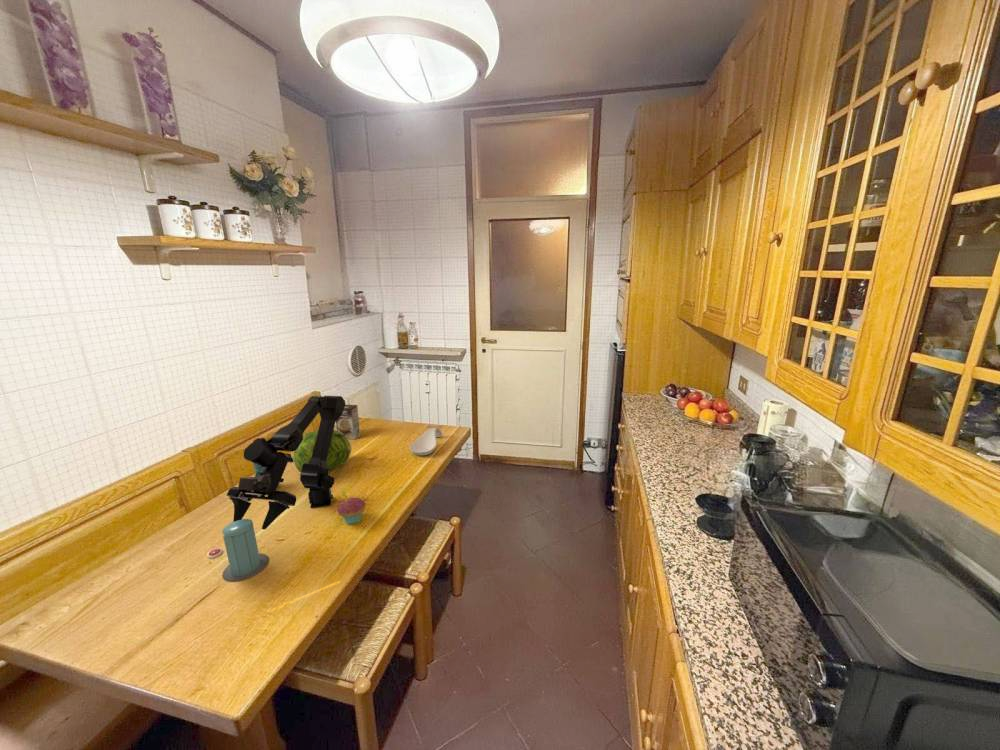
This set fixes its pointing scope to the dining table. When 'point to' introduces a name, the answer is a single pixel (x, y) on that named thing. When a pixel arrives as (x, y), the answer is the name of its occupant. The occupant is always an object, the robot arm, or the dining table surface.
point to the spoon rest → (426, 442)
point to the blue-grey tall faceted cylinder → (241, 547)
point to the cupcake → (351, 509)
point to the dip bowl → (214, 553)
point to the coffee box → (349, 422)
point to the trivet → (231, 578)
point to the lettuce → (336, 453)
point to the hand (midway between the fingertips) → (249, 527)
